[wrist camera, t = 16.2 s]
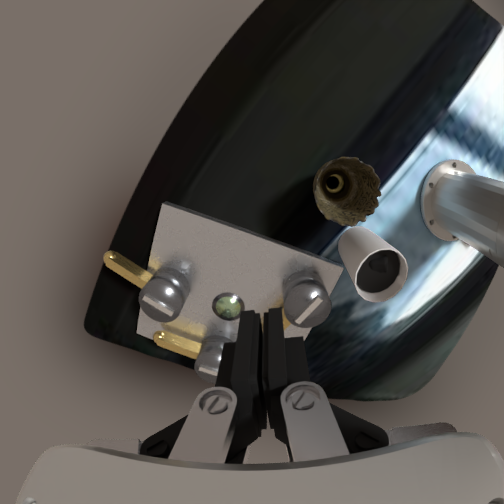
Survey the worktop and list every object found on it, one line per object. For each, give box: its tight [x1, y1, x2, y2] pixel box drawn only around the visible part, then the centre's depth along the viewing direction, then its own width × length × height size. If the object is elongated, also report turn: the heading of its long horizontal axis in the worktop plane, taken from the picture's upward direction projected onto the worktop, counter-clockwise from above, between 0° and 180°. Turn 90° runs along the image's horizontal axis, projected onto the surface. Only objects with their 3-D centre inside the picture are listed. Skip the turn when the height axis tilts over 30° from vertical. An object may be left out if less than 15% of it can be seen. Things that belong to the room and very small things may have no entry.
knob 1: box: [104, 251, 190, 323], centre depth 37 cm, size 14×6×6 cm, turn 58°
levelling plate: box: [137, 201, 344, 343], centre depth 41 cm, size 26×23×2 cm
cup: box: [313, 157, 381, 227], centre depth 32 cm, size 8×7×8 cm
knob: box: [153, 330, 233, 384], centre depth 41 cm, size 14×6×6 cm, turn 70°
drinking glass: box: [338, 226, 408, 302], centre depth 33 cm, size 7×7×10 cm
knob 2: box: [262, 270, 331, 331], centre depth 38 cm, size 14×6×6 cm, turn 143°
